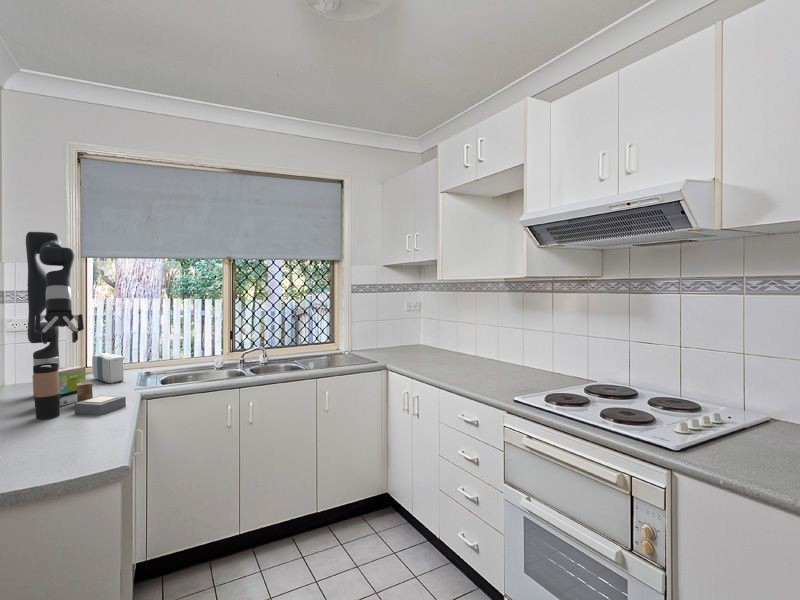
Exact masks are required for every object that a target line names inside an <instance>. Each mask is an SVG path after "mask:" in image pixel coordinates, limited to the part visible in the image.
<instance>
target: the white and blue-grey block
mask: <svg viewBox="0 0 800 600" xmlns="http://www.w3.org/2000/svg"><path fill="white" fill-rule="evenodd" d="M121 344H122V343H121V342H119V344H118V345H117V346H115V348H114V349H113V350H111V352H104V353H96V354H93V355H92V359H91V361H92V362H91V363H92V375H93V378H94V379H96V380H99V381H103V382H106V383H108V384H111V383H112V384H115V383H114V382H116V383H119V381H122V382H124V379H125V378H124V360H125V359H126V357H125V356H123V355H120V354H116V353H114V352H115V351H116V349H117V348H118V347H120V346H119V345H121Z"/></svg>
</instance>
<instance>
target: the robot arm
mask: <svg viewBox="0 0 800 600" xmlns="http://www.w3.org/2000/svg"><path fill="white" fill-rule="evenodd" d="M25 248H26V249H25V250H26V258H27V301H28V304H27V305H28V317H27V318H28V319H27V340H28V342H29V343H30V344H41V343H42V344H43V345H46V346H45V347H43V348H41V349H38V350H35V351H34V352H33V354H32V360H33V361H32V362H33V363H32V364H33V366H35V365H39V364H47V363H57V364H58V368H60V367H61V366H60V350H59V348H60V346H59V336H60V335H59V333H60V332H59V331H60V330H59V328H60V327H61V328H64V327H67V328H68V329H69V331H71V332H72V333H71V341H72V342H71V343H73V344H75V343H76V342H77V341H78V340H79V332H82V331H83V330H84V329H85V326H84V322H83V321H84V319H83V314H82V313H80V314H75V315H74V314H73V311H72V309H73V307H72V299H73V297H72V292H71V281H70V279H71V272H72V267H73V265H74V262H75V259H76V258H75V257H76V253H75V251H74V250H73V249H72V248H69V247H63V246H62V243H61V240H60V238H59V236H58V235H57V233H55V232H49V231H47V232H45V231H27V233H26V235H25ZM37 255H39V256H38V257H39V259H38V257H37ZM40 262H41V263H40ZM42 264H43V265H45V266H51V267H52V266H54V267H62V269H58V270H52V271H46V269H45V268H44V267H43V266H42ZM44 311H45V314H42V313H44ZM73 319H74V320H75V322H77V327H76V326H75V324H74V323H73V322H72V320H73ZM43 320H45V322H44V321H43ZM31 378H32V394H33V397H34V380H33V375H32V377H31Z"/></svg>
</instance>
